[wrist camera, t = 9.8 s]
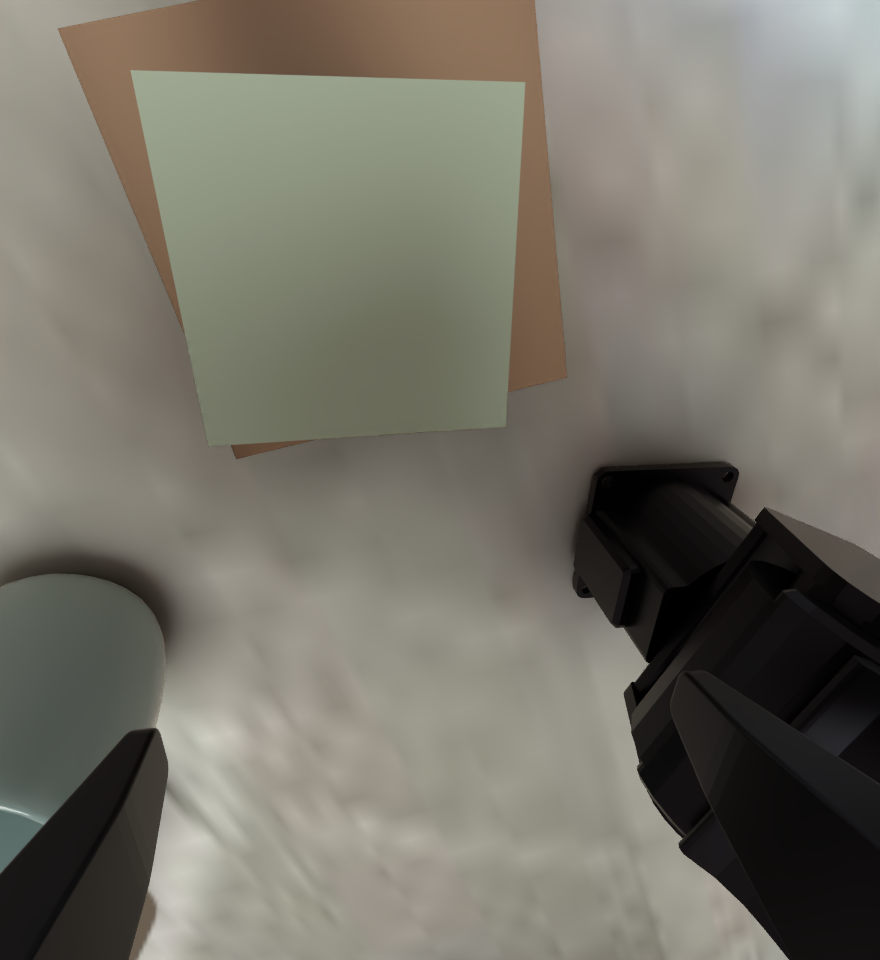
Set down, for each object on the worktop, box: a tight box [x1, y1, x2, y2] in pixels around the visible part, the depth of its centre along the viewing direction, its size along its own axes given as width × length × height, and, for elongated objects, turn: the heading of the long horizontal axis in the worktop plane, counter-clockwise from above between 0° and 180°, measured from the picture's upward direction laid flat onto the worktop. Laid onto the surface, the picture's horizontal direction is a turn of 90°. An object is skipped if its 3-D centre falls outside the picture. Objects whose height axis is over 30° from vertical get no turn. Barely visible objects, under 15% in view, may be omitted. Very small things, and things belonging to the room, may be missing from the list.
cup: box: [0, 573, 166, 873], centre depth 18 cm, size 8×8×10 cm
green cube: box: [130, 70, 525, 446], centre depth 11 cm, size 5×5×5 cm
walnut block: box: [58, 0, 567, 459], centre depth 15 cm, size 9×9×6 cm
